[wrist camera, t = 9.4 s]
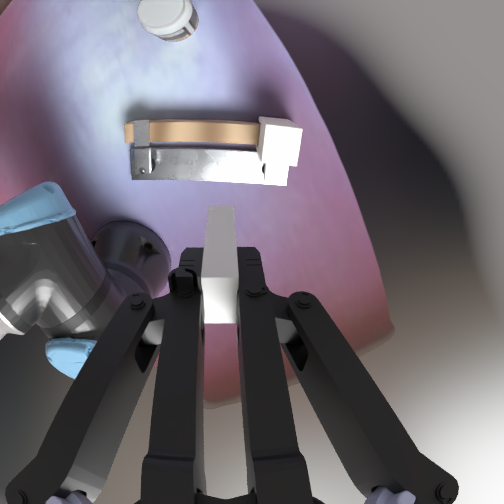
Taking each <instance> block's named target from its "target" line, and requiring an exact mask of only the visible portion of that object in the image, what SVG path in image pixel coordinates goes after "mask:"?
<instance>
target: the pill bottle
mask: <svg viewBox="0 0 504 504" xmlns="http://www.w3.org/2000/svg"><path fill="white" fill-rule="evenodd" d="M137 14H138V18H139V20H140V21H141V24H142V26H143V28H144V29H145V30H146V31H148V32H149V33H151V34H153V35H155V36H157V37H159V38H161V39H163V40H165V41H168V42H178V41H182V40H185V39H187V38H188V37H190V36H191V35H192V34H193V33H194V32H195V30H196V29H197V27H198V22H199V19H198V15H197V13H196V11H195V9H194V7H193V5H192V3H191V1H190V0H141V2H140V4H139V6H138V10H137Z"/></svg>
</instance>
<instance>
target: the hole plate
mask: <svg viewBox="0 0 504 504" xmlns="http://www.w3.org/2000/svg"><path fill="white" fill-rule="evenodd" d="M134 149H136V148H132V149H131V150H130V157H131V174H132V180H198V181H224V182H242V183H258V184H271V185H283V186H286V181H287V175H288V168H289V165H283V166H282V173H281V180H280V183H275V182H264V180H263V175H264V167H265V163H261V161H260V158H259V155H258V153H257V151H254V150H240V149H222V148H193V147H152V148H151V170H152V171H151V172H150V173H144V174H141V173H140V174H135V156H134Z"/></svg>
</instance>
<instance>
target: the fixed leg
mask: <svg viewBox="0 0 504 504" xmlns="http://www.w3.org/2000/svg"><path fill="white" fill-rule="evenodd" d="M137 146H150V120H135V121H134V147H137ZM134 156H135V174H140V173H141V174H144V173H150V172H151V171H152V170H151V147H143V148H136V149H134Z"/></svg>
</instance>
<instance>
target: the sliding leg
mask: <svg viewBox="0 0 504 504" xmlns="http://www.w3.org/2000/svg"><path fill="white" fill-rule="evenodd" d="M258 121H259V122H260V123H261V126H260V135H259V144H258V145H256V150H257V153H258V155H259V158H260V161H261V163H265V167H264V175H263V180H264V182H275V183H280V180H281V173H282V166H283V165H289V166H297V161H298V155H299V149H300V143H301V136H302V130H303V129H302V128H301V127H299V126H298V125H296V124H295V123H293V122H292V121H290V120H288V119H280V118H272V117H262V116H259V119H258Z"/></svg>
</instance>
